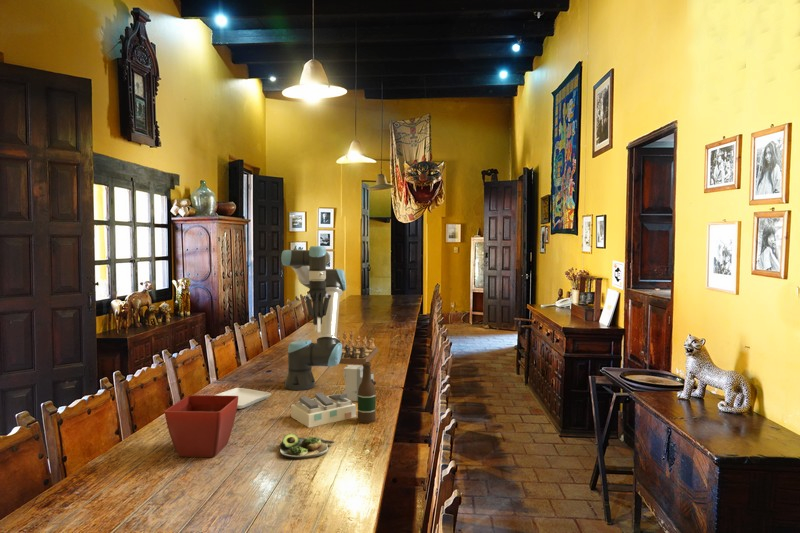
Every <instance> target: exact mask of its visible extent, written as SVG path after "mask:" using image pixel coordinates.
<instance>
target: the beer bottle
mask: <svg viewBox="0 0 800 533" xmlns="http://www.w3.org/2000/svg"><path fill="white" fill-rule="evenodd" d="M362 366H363V378H362V382H361V384H360V385H359V388H358V401H357V422H359V423H361V424H371V423H374V422H376V396H377V395H376V386H375V385H374V384H373V383H372V381H371V374H372V371H371V369H372V368H371V366H372V363H371V362H370V361H369V362H364V363H363V365H362Z"/></svg>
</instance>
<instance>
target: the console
mask: <svg viewBox="0 0 800 533" xmlns="http://www.w3.org/2000/svg"><path fill="white" fill-rule="evenodd" d="M335 394H336V393H335ZM335 394H333V395H335ZM325 396H326V397H328V398H329V396H330V394H329V395H325ZM310 399H311V400H313V401H314V402H315V403H317V404H318V408H314V409H309V408H308V407H307V406H305V405H304V404H303V403H301V402H300V400H298V401H294V404H291V406H290V417H291V418H292V419H294V420H296V421H297V422H299V423H300V424H302V425H304V426H305V427H307V428H313V427H317V426H323V425H326V424H327V425H328V424H330V423H334V422H338V421H340V422H341V421H344V420H347V419H352V418H356V417H357V404H355V403H353V401H351V400H348V399H346V398H343V399H331V398H329V399H330V400H331V401H332V402H333V405H328V406H325V405H323V404H322V403H321V402H320V401H318V400H317V399H316V398H315V397H314V398H310Z"/></svg>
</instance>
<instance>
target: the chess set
mask: <svg viewBox="0 0 800 533" xmlns="http://www.w3.org/2000/svg"><path fill="white" fill-rule="evenodd" d="M354 335H355V332H354V331H353V329H351V330H350V333H349V339H348V341H347V338H348V336H347V333H346V331H344V332H343V333H342V339H341V336H340V334H339V333H337V338H338V339H339V341H340V342H339V343H341V344H342V354H341V359H340V362H339V364H341V365H363V363H364V362H370V361H371V360H372V359H373V357H374V356H375V355H376V354H377V353H378V352H379V346H378V345H375V343H374V342H375V338H374V337H370V339H369V340H367V336H364V339H362V340H361V336H360V335H359V334H357V336H356V339H355V337H354ZM354 339H355V341H354ZM339 364H338V365H339Z"/></svg>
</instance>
